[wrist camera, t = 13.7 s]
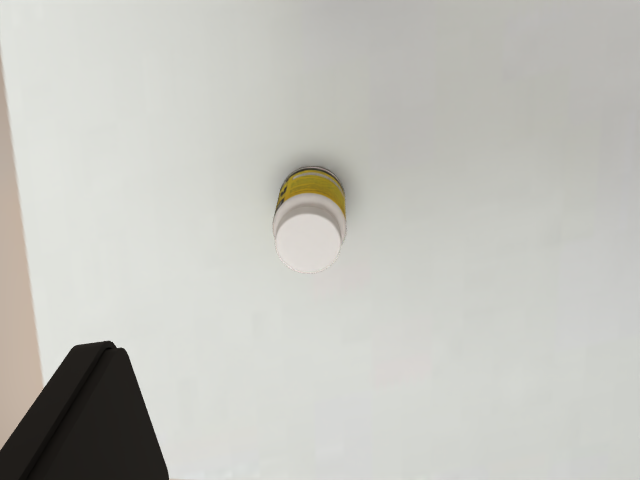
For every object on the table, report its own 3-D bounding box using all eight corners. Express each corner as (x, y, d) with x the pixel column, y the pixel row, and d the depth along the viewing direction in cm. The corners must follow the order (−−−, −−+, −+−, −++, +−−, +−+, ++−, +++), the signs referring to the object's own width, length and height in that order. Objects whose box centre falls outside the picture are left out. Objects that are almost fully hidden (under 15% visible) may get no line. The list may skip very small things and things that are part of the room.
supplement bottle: (277, 165, 43) (266, 206, 35) (344, 164, 43) (347, 205, 35) (281, 228, 45) (271, 280, 37) (345, 227, 45) (348, 279, 37)
